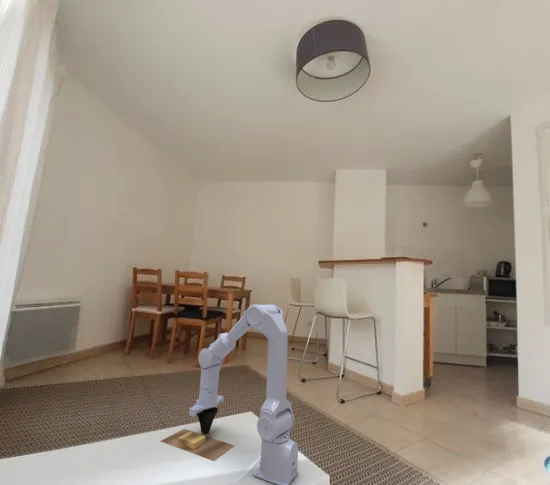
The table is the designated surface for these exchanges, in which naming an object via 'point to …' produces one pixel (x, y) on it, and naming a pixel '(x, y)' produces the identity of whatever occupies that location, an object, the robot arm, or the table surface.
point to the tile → (191, 440)
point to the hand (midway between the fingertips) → (205, 433)
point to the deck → (208, 450)
